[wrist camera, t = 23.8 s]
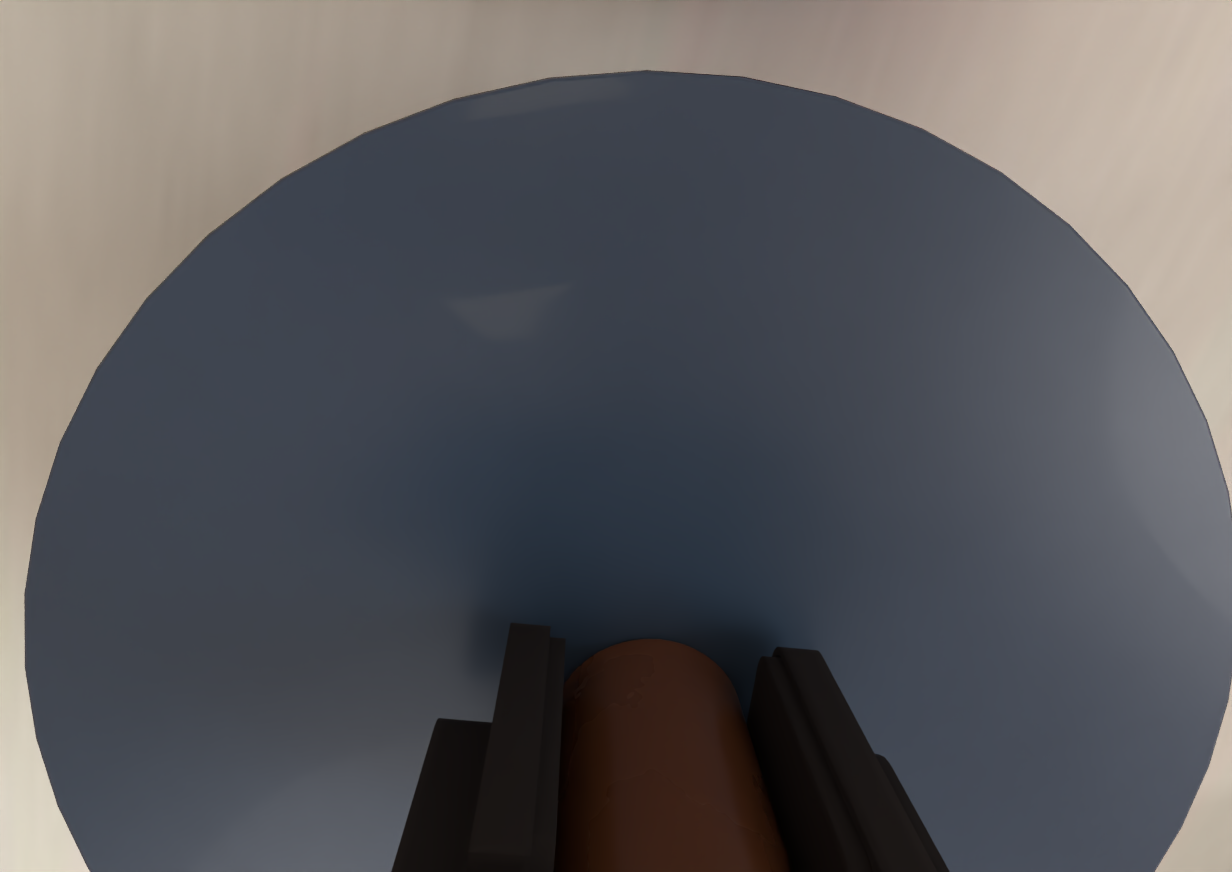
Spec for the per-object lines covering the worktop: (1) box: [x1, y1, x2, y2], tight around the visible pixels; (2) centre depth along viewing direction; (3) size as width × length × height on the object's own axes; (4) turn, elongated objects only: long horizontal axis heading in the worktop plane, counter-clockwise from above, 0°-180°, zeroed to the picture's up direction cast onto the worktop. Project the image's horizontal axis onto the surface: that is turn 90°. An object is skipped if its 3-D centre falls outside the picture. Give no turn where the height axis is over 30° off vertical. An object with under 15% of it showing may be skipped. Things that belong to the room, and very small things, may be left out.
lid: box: [25, 70, 1232, 872], centre depth 9 cm, size 17×17×7 cm
